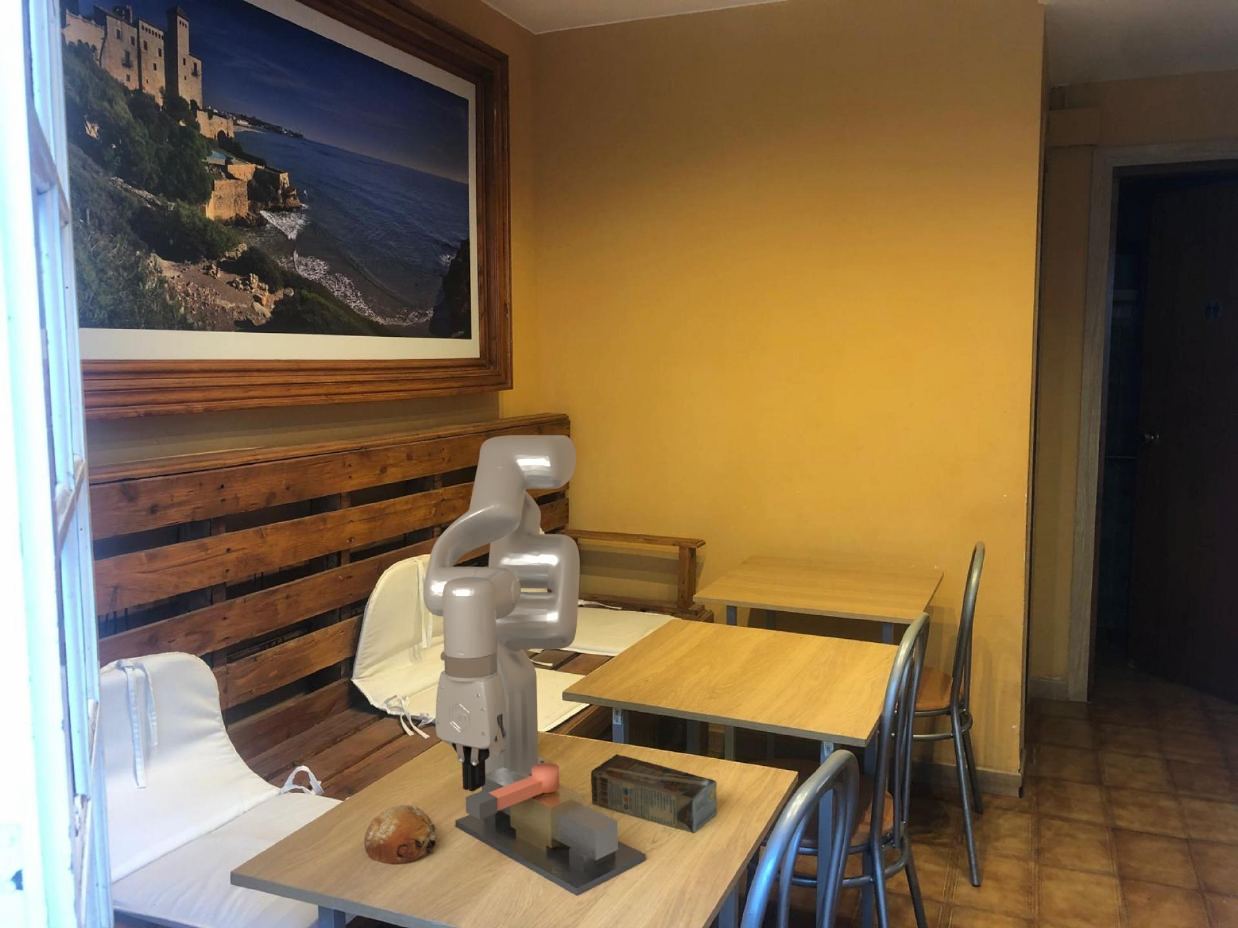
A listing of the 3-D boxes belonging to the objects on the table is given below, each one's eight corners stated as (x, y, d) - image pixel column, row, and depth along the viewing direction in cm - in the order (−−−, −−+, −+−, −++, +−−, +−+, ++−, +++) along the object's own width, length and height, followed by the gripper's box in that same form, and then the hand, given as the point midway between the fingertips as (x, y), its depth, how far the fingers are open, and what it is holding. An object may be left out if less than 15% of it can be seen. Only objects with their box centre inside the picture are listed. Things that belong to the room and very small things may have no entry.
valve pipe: (455, 826, 151) (453, 772, 150) (522, 799, 160) (521, 749, 159) (576, 895, 131) (575, 834, 130) (645, 860, 140) (644, 803, 139)
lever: (547, 778, 148) (546, 760, 147) (564, 786, 145) (564, 768, 145) (464, 811, 137) (463, 791, 137) (481, 820, 134) (480, 800, 134)
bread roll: (416, 852, 151) (400, 801, 152) (456, 843, 145) (439, 789, 146) (362, 879, 143) (346, 824, 145) (401, 870, 137) (384, 813, 138)
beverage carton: (693, 836, 148) (693, 794, 147) (588, 806, 158) (587, 767, 157) (718, 815, 154) (718, 775, 154) (615, 788, 165) (615, 750, 164)
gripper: (413, 663, 143) (417, 786, 144) (496, 678, 135) (499, 808, 137) (448, 650, 149) (451, 768, 151) (528, 664, 141) (531, 788, 143)
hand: (474, 786), depth 144 cm, fingers closed
